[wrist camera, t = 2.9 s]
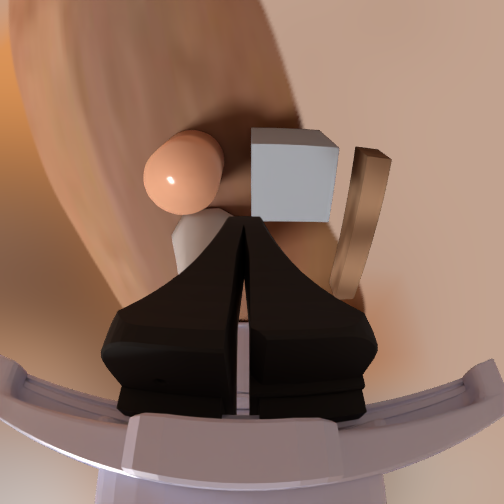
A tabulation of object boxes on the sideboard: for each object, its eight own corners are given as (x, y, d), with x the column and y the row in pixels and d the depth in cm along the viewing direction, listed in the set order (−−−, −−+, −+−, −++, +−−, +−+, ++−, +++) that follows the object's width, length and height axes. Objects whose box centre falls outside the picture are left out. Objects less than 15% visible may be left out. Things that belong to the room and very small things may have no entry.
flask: (169, 263, 26) (142, 350, 18) (177, 197, 21) (136, 282, 13) (241, 278, 27) (238, 369, 19) (262, 216, 22) (269, 308, 14)
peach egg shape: (225, 189, 21) (221, 214, 18) (165, 191, 21) (150, 215, 18) (223, 128, 18) (217, 140, 15) (157, 132, 18) (138, 147, 15)
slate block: (313, 190, 21) (328, 221, 17) (251, 188, 21) (251, 221, 17) (319, 130, 18) (339, 148, 14) (251, 127, 18) (251, 144, 14)
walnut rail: (347, 281, 27) (353, 298, 25) (329, 282, 27) (334, 299, 25) (377, 149, 19) (391, 159, 17) (355, 146, 19) (367, 156, 17)
